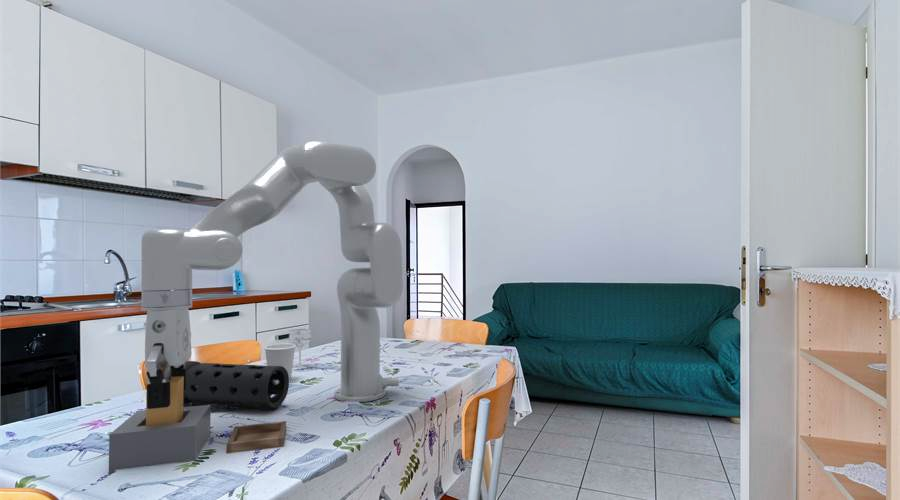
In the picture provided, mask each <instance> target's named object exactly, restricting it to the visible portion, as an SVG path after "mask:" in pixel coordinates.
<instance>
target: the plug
mask: <svg viewBox="0 0 900 500" xmlns="http://www.w3.org/2000/svg"><path fill="white" fill-rule="evenodd" d="M161 371H162V373H163V374H164V370H161ZM168 382H170V405H169V406H168V407H164V408H154V409H148V408H147V390H146V395H145V396H146V399H145V400H146V401H145V403H146V404H145V405H146V406H145V407H146V408H145V410H146V426H148V425H158V424H169V423H179V422H182V421H183V407H184V404H183V390H184V376H179V377H171V368H170V373H169V378H168Z"/></svg>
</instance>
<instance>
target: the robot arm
mask: <svg viewBox="0 0 900 500" xmlns="http://www.w3.org/2000/svg"><path fill="white" fill-rule="evenodd" d="M376 172H377V164H376V161H375V158H374V157H373V155H372V154H371V152H369V151H368V150H366V149H364V148H362V147H359V146H356V145H355V146H354V145H346V144H340V143H335V142H329V141H328V142H326V141H320V140H319V141H318V140H311V141H307V142H303V143H299V144H296V145H292V146H289V147H287V148H285V149H283V150H282V151H281V152H279V153H278V154H277V155H276V156H275V157H274V158H272V160H271V161H269V163H267V164H266V165H265V167H263V168H262V169H261V170H260V171H259V172H258V173H257V174H256V175H255V176H254V177H253V178H251V180H250V181H248V182H247V183H246V184H245V185H243V186H242V187H241V188H240V189H239V190H237V191H236V192H234V193H232V195H230V196H229V197H228V198H226V199H225V200H224V201H222V202H221V203H220V204H218V205H217V206H216V207H214V208H213V209H211V210H210V211H208V213H206V214H205V215H204V216H202V218H200V220H198V221H197V222H196V223H195V224H194V225H193V226H192V227H190V229H189V230H187V231H186V230H183V229H182V230H181V229H172V228H171V229H169V228H168V229H167V228H164V229H161V228H157V229H154V228H153V229H149V230H146V231H145V232H143V234H142V236H141V311H144V312H145V311H147V312H146V320H145V334H144V335H145V337H144V338H145V339H144V363H145V367H146V369H147V371H146V377H147V378H146V391H147V408H148V409H154V408H164V407H168V406H169V405H170V382H168V378H169V373H170V368H171V377H179V376H184V390H185V389H186V369H182V368H185V366H186V363H185V362H186V361H187V360H188V361H190V359H191V357H192V333H190V331H191V319H190V311H189V309H190V308H193V270H195V271H223V270H227V269H229V268H231V267H233V266H235V265H236V264H237V263H238V262H239V261H240V259H241V258H242V255H243V245H242V241H241V240H240V239H239V237H240V236H241V235H243V234H244V233H246V232H248V230H250V229H252V228H255V227H257V226H259V225H263V224H264V223H266V222H269V221H271V220H272V219H274V218H275V217H276V216H279V214H280V213H281V212H282V211H283V210H284V209H286V207H287V206H288V204H290V203H291V201H292V200H293V199H294V198H295V197H297V195H298V194H299V193H300V192H301V191H302V190H303V189H304V188H305V187H306V186H307V185H308V184H311V183H317V182H318V183H319V184H320V185H321V186H322V187H323V188H324V189H325V190H327V191H328V192H329V194H330V195H331V196H332V197H333V198H334V200H335V202H336V205H337V208H338V213H339V214H338V215H339V229H340V230H339V231H340V248H341V252H342V255H343V257H344V259H346V260H347V261H349V262H352V263H369V266H370V267H354V268H351V269H348V270H346V271H345V272H344V273H342V274H341V276H339V279H338V281H337V286H336V293H337V294H336V295H337V300H338V304H339V310H340V311H339V313H340V388H337V389H335V391H334V393H333V394H334V395H333V396H334V398H335V399H336V400H338V401H341V402H358V403H363V402H371V401H372V402H373V401H377V400H379V399H382V398H384V397H385V396H386V394H387V387H399V385H400V381H399V380H400V379H399V378H398V377H394V378H393V377H392V376H391V377H383V376H382V375H381V368H380V367H381V365H380V364H381V359H380V358H381V353H380V352H381V349H380V347H381V346H380V345H381V338H380V337H381V334H380V333H381V327H380V326H381V325H380V318H379V314H378V312H377V309H376V308H380V309H381V308H382V309H383V308H384V309H386V308H387V309H388V308H391V307H393V306H396V304H398V302H399V301H400V299H401V297H402V295H403V287H404V279H403V278H404V277H403V276H404V275H403V253H402V243H401V238H400V236H399V234H398V232H397V230H396V228H394V227H393V226H392V225H391V224H388V223H386V222H376V221H375V212H374V204H373V200H372V197H371V196H370V193H369V192H368V190H367V189H366V188H365V186H364V185H367V184H368V183H370V182H371V181H372V180H373V179H374V177H375V176H376ZM161 370H164V374H163V373H162V371H161ZM184 390H183V391H184Z"/></svg>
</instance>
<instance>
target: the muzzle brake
mask: <svg viewBox="0 0 900 500" xmlns="http://www.w3.org/2000/svg"><path fill="white" fill-rule="evenodd" d="M185 363H186V366H185V368H182V369H186V389H185V390H184V391H183V405H185V404H188V405H189V404H190V407H192V406H203V405H211V406H218V407H219V406H222V407H226V408H227V409H229V410H230V409H232V408H233V409H237V410H242V411H243V410H245V411H249V410H250V411H251V410H270V411H276V410H278V409H279V407H281V405H282V404H283V403H284V401H285V400H286V398H287V395H288V391H289V388H290V382H289V376H288V372H287V370H286V369H285V368H284V367H283V366H267V365H257V364H243V363H242V364H234V363H233V364H232V363H217V362H216V363H215V362H214V363H213V362H199V361H196V360H195V361H194V360H188V361H186V362H185ZM274 380H279V383H278V384H276V383H275V382H274ZM272 395H273V396H272Z"/></svg>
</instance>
